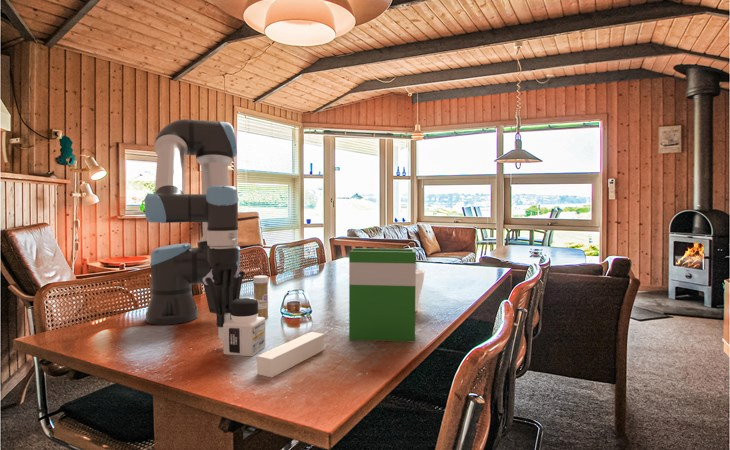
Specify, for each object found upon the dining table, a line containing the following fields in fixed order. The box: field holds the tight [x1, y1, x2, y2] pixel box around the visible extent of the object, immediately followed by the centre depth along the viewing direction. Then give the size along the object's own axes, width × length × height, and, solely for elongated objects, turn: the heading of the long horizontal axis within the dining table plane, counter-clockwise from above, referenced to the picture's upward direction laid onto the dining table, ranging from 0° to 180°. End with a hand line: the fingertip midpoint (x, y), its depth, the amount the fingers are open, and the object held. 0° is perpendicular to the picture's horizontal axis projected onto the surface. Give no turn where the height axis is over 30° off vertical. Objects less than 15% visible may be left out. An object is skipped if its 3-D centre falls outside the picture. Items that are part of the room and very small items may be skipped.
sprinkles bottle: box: [252, 275, 269, 320], centre depth 141 cm, size 5×5×13 cm
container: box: [222, 297, 266, 357], centre depth 111 cm, size 8×8×13 cm
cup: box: [415, 269, 425, 313], centre depth 152 cm, size 10×10×14 cm
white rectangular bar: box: [256, 331, 325, 378], centre depth 104 cm, size 4×20×4 cm, turn 152°
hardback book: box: [348, 247, 417, 342], centre depth 123 cm, size 18×7×24 cm, turn 84°
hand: (224, 338), depth 114 cm, fingers closed
